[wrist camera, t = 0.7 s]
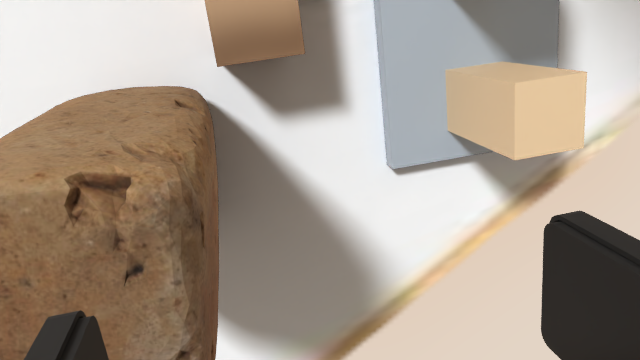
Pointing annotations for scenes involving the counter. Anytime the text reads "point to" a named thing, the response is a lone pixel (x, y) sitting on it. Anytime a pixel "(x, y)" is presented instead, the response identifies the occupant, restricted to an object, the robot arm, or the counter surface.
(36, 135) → the brown rounded tall lump
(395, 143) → the base
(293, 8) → the beam
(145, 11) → the counter surface
